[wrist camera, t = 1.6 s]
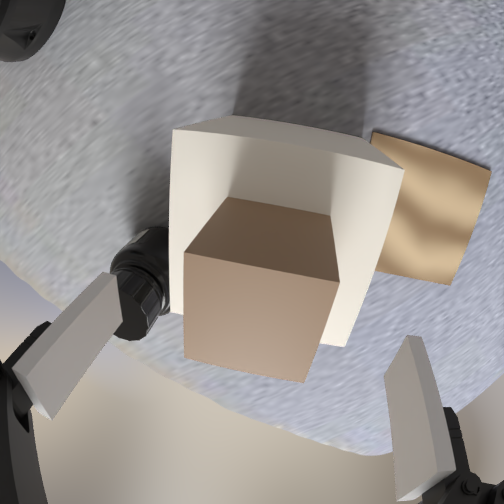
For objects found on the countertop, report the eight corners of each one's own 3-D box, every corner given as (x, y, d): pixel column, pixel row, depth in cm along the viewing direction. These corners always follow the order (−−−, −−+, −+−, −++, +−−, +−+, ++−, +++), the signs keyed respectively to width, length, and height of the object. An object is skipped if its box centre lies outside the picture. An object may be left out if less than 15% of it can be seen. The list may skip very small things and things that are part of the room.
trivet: (372, 131, 28) (373, 132, 28) (490, 170, 27) (491, 171, 26) (340, 262, 35) (340, 263, 35) (449, 283, 34) (450, 285, 33)
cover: (231, 115, 30) (101, 151, 11) (362, 138, 28) (456, 214, 9) (220, 232, 36) (130, 379, 17) (334, 253, 35) (348, 426, 16)
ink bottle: (134, 215, 37) (77, 261, 26) (201, 230, 36) (158, 287, 26) (135, 279, 42) (89, 334, 31) (194, 296, 41) (159, 361, 30)
